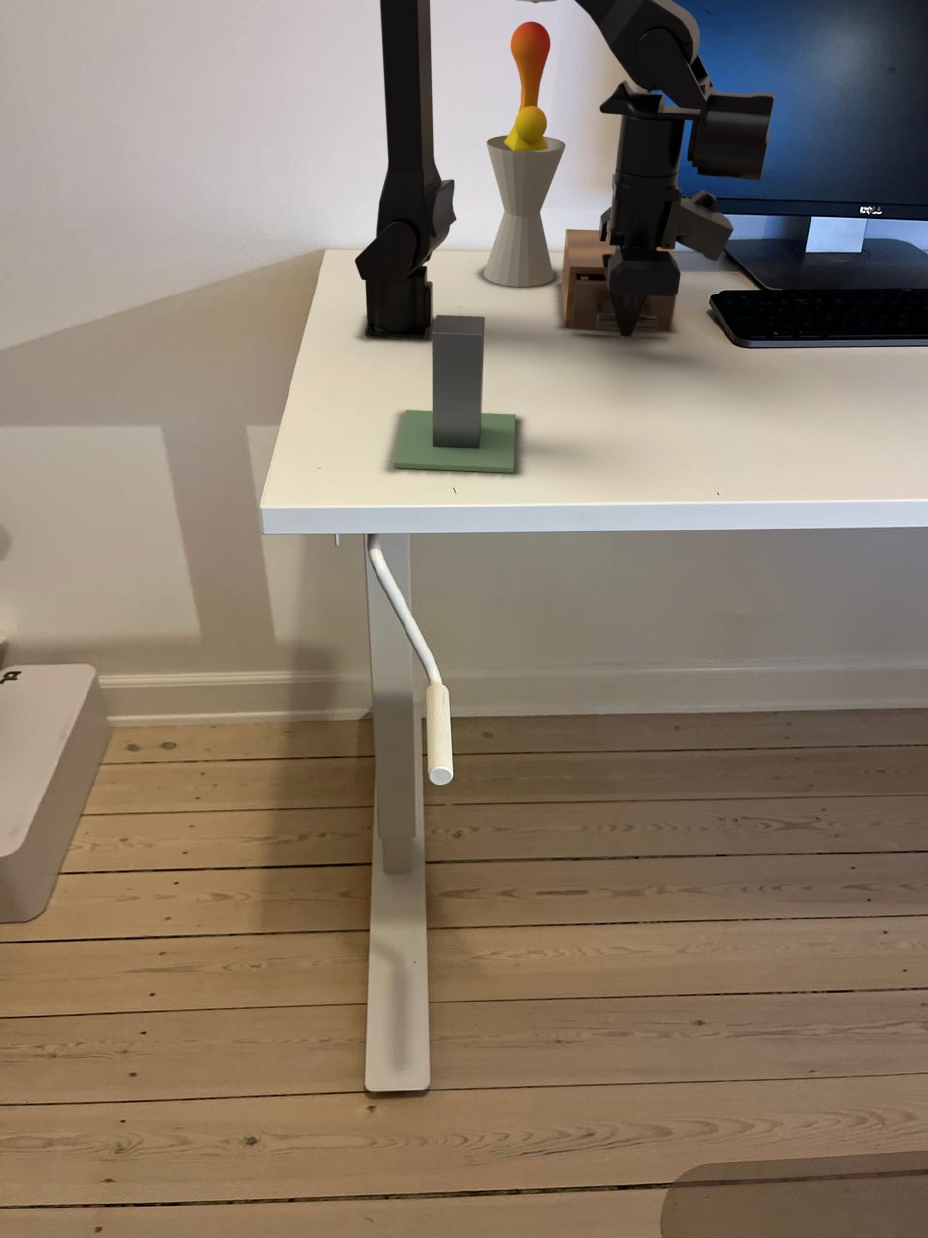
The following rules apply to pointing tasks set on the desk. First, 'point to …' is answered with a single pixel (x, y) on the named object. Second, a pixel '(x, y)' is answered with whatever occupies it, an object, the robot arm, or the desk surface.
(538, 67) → the lava lamp
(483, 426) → the mat
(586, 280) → the drawer
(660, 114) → the robot arm
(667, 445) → the desk surface
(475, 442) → the tall grey pillar
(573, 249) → the cabinet
